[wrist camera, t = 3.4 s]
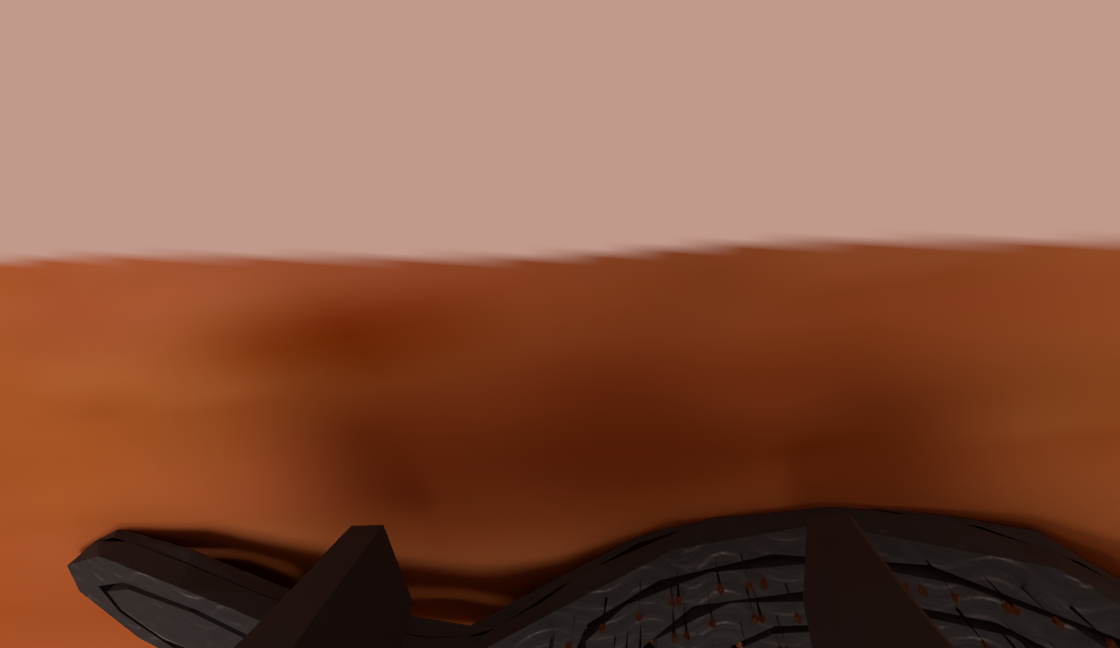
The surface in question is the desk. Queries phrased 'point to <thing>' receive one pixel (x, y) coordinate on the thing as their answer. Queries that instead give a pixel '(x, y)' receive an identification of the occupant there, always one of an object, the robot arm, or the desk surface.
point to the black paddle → (668, 589)
